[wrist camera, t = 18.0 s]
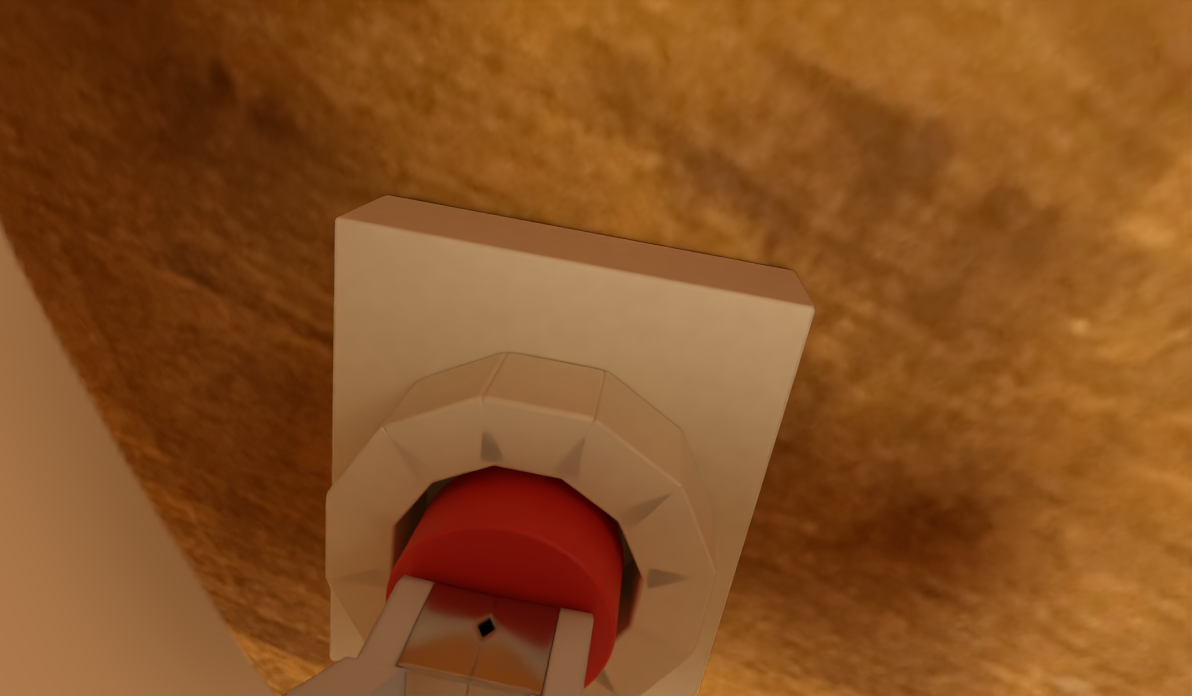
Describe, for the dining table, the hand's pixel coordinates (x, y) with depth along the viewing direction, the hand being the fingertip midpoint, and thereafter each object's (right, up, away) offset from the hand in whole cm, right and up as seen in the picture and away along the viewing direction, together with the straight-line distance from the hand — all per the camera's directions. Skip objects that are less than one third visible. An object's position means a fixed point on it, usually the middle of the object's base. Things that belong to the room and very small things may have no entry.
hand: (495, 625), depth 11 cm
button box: (+1, +2, +5) cm, 5 cm away
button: (0, +1, +2) cm, 2 cm away
